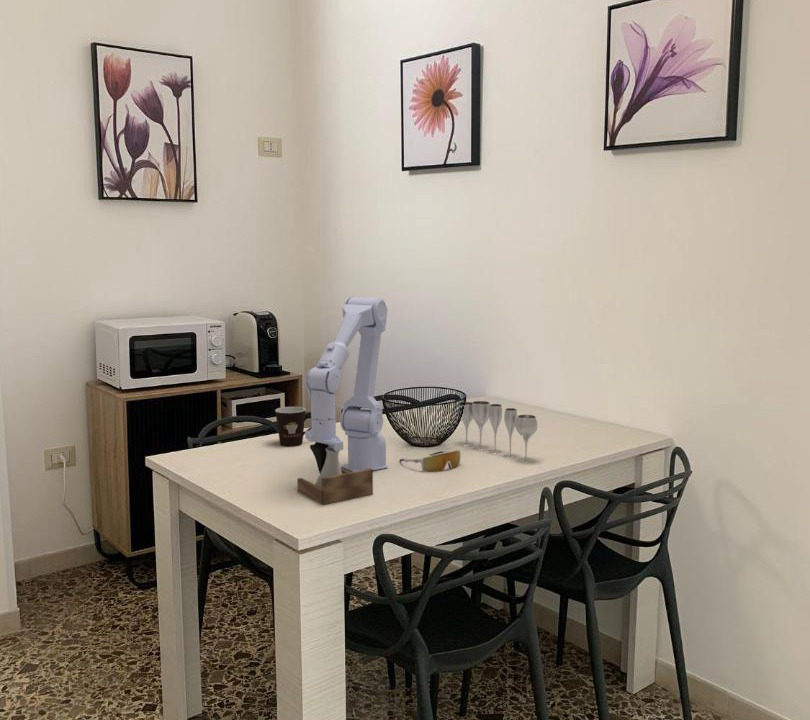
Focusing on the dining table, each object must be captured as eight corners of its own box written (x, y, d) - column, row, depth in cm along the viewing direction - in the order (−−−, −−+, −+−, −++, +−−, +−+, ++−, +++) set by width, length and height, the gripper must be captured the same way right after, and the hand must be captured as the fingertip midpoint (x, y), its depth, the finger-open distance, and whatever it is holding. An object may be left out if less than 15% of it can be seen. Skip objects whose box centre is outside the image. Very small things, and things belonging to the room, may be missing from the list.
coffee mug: (271, 446, 236) (270, 412, 234) (283, 439, 244) (282, 406, 242) (310, 449, 233) (309, 414, 231) (320, 441, 241) (319, 408, 240)
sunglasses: (427, 476, 208) (425, 456, 207) (393, 470, 220) (391, 452, 220) (470, 466, 216) (469, 447, 216) (435, 462, 228) (434, 444, 228)
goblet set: (453, 444, 238) (453, 398, 236) (468, 440, 242) (468, 396, 240) (526, 464, 217) (527, 415, 215) (541, 460, 221) (542, 412, 219)
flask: (329, 479, 201) (332, 440, 198) (352, 488, 196) (354, 449, 194) (308, 487, 195) (310, 448, 192) (331, 497, 191) (333, 457, 188)
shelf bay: (344, 481, 203) (344, 457, 202) (372, 494, 193) (372, 469, 192) (297, 490, 195) (297, 466, 194) (324, 504, 185) (323, 479, 184)
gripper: (293, 414, 199) (295, 469, 201) (324, 426, 187) (325, 484, 189) (319, 410, 203) (320, 464, 205) (350, 421, 191) (351, 478, 193)
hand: (324, 473), depth 197 cm, fingers closed
